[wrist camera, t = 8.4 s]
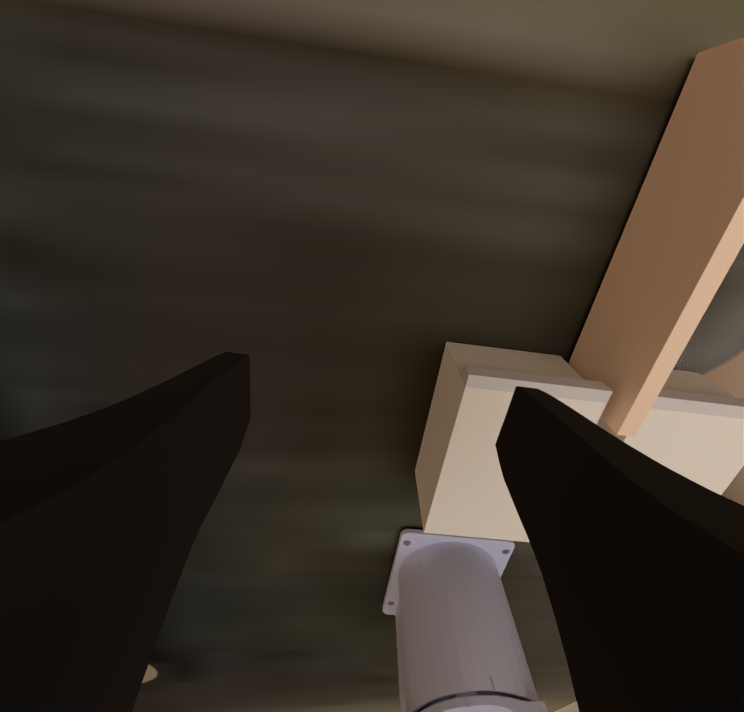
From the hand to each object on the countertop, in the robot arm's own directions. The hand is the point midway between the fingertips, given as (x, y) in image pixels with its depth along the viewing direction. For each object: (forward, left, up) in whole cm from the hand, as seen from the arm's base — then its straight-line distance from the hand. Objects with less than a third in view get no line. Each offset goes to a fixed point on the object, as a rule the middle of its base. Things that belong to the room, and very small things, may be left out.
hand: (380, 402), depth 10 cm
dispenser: (-6, -11, -9) cm, 16 cm away
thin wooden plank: (+4, -11, -9) cm, 15 cm away
